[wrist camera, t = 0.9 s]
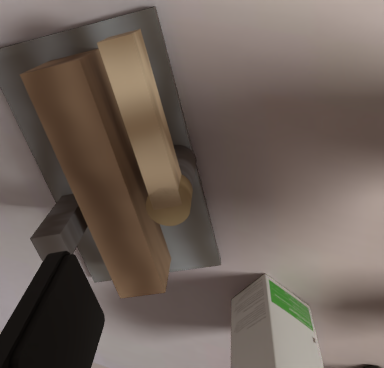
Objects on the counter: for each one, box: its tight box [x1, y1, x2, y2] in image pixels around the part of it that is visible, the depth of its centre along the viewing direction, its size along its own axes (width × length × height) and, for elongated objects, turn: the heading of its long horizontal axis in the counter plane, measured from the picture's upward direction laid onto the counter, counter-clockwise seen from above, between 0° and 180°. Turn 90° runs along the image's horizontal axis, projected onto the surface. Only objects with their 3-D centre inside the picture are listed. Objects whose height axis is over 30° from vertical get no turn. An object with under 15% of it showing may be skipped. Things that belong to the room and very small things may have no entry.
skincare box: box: [231, 274, 324, 368], centre depth 40 cm, size 8×7×16 cm
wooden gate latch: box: [0, 7, 221, 298], centre depth 35 cm, size 16×28×9 cm, turn 13°
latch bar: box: [97, 29, 193, 226], centre depth 28 cm, size 15×4×3 cm, turn 13°
